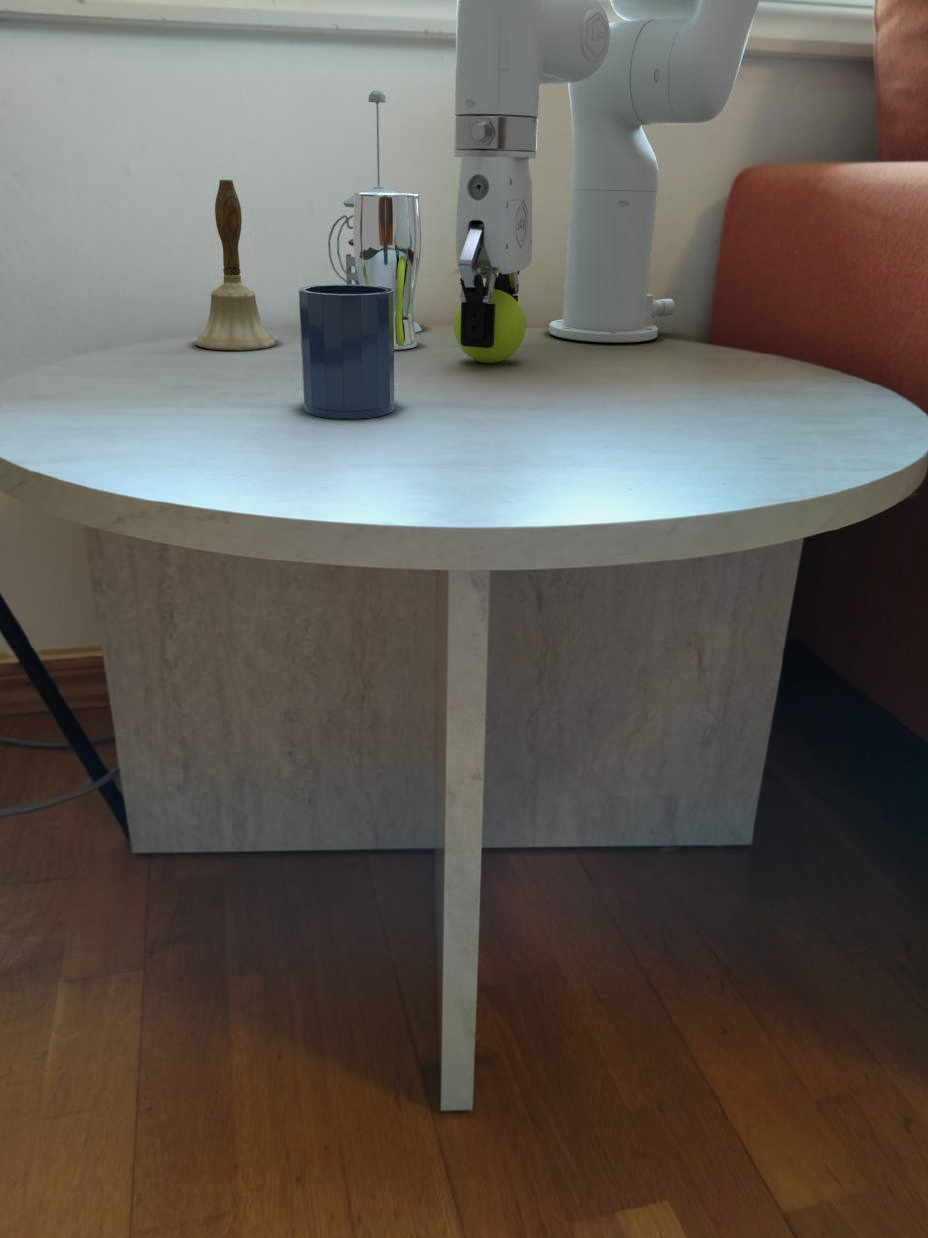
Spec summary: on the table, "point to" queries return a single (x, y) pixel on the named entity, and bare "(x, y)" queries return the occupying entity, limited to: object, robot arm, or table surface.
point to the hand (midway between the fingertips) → (489, 339)
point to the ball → (498, 330)
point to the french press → (350, 261)
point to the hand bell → (232, 287)
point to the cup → (347, 350)
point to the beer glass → (390, 252)
